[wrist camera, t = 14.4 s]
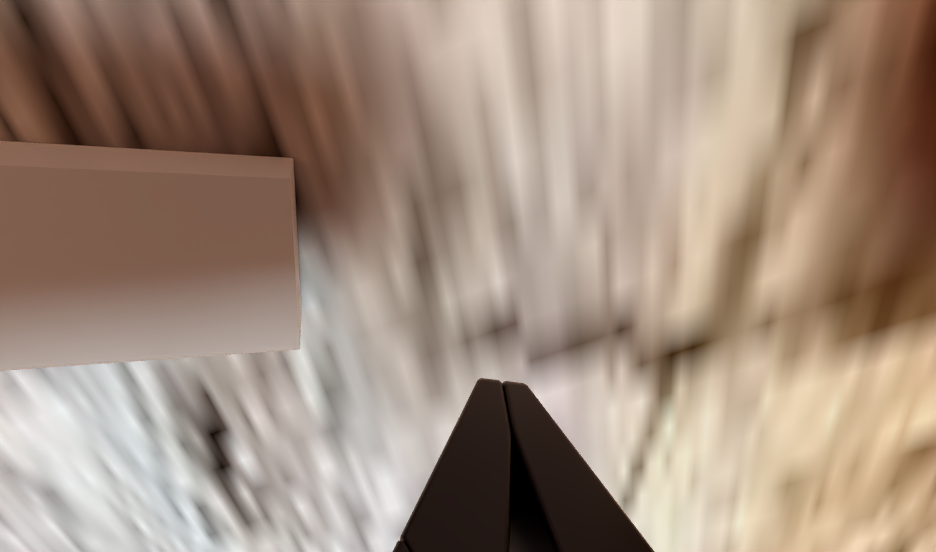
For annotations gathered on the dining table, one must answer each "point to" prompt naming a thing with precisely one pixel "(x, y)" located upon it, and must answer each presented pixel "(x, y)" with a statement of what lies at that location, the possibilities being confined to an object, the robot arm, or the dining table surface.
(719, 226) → the dining table surface
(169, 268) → the domino
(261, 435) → the dining table surface
